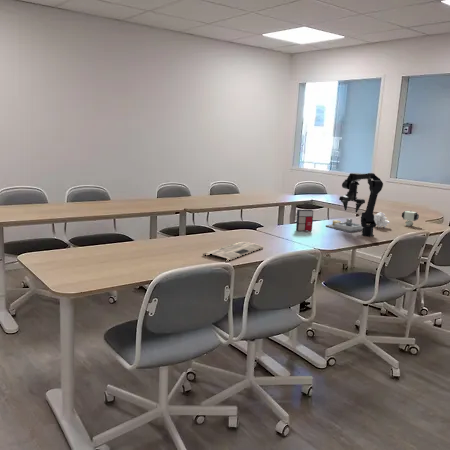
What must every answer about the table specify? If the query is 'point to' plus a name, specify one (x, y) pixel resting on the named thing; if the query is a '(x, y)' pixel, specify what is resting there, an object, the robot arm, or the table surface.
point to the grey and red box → (304, 220)
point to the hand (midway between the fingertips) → (350, 211)
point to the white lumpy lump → (381, 220)
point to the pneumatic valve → (410, 217)
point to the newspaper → (235, 250)
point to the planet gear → (349, 223)
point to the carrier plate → (339, 226)
